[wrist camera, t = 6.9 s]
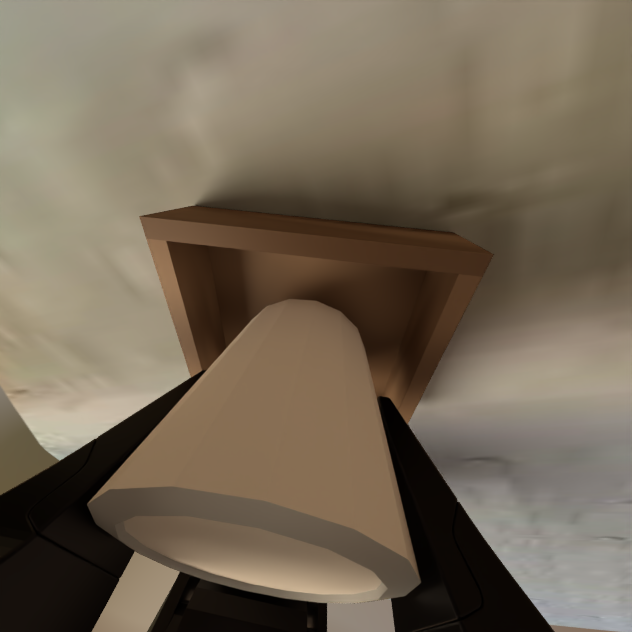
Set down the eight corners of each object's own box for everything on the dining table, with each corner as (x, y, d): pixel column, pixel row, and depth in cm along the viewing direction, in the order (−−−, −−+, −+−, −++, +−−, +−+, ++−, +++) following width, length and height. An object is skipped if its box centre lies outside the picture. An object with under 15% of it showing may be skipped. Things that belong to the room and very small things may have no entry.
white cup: (209, 294, 10) (-11, 484, 4) (375, 274, 8) (443, 520, 2) (258, 400, 13) (185, 585, 7) (381, 398, 12) (414, 623, 6)
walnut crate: (386, 403, 15) (394, 449, 12) (227, 379, 16) (204, 418, 13) (453, 232, 9) (494, 254, 7) (193, 205, 10) (139, 216, 7)
